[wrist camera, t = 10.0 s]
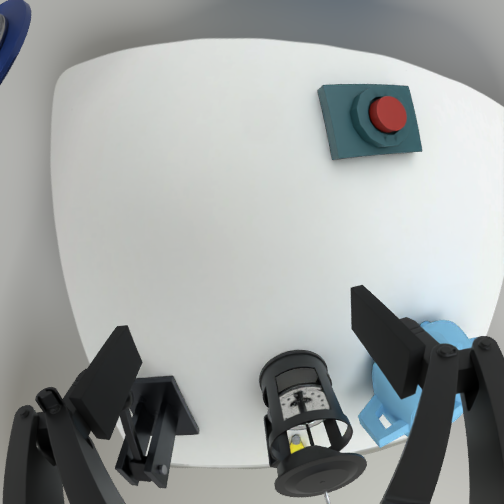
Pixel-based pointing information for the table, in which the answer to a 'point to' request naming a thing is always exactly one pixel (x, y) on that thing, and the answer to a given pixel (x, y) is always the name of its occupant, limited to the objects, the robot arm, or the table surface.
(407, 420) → the teapot
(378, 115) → the stop button
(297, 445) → the light bulb
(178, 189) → the table surface
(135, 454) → the switch lever
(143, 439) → the ball knob lever stand
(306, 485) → the french press
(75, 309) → the table surface
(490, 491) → the robot arm
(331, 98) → the button box
